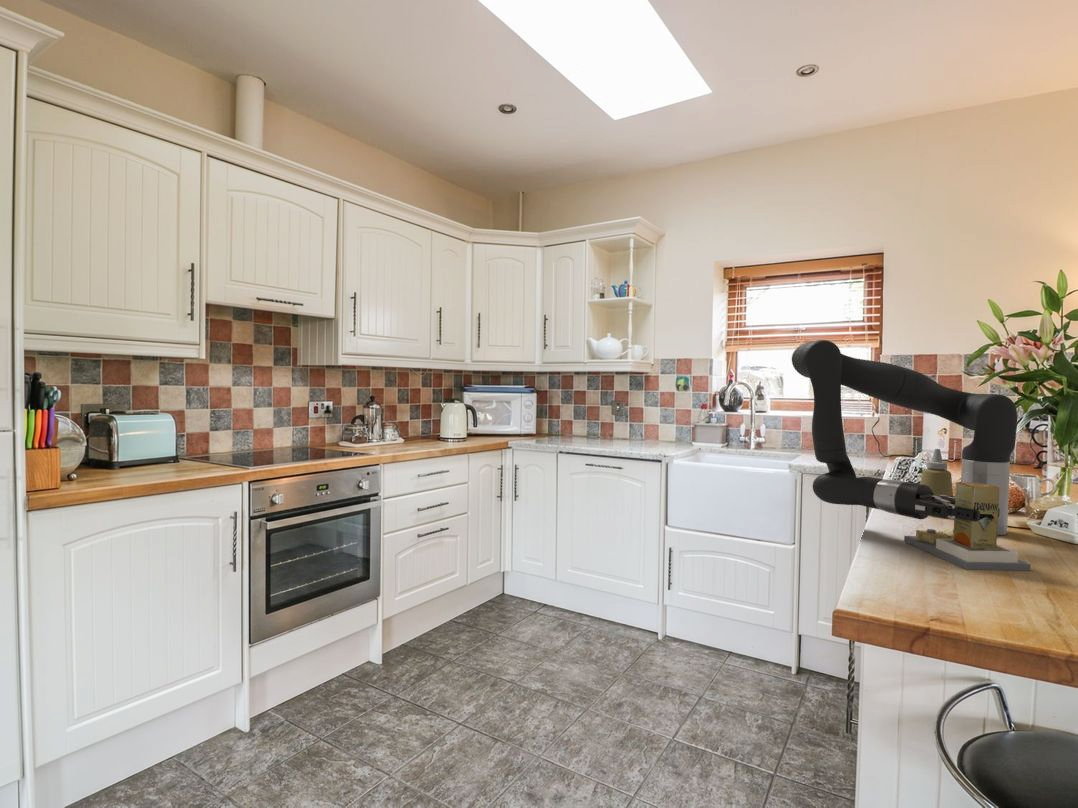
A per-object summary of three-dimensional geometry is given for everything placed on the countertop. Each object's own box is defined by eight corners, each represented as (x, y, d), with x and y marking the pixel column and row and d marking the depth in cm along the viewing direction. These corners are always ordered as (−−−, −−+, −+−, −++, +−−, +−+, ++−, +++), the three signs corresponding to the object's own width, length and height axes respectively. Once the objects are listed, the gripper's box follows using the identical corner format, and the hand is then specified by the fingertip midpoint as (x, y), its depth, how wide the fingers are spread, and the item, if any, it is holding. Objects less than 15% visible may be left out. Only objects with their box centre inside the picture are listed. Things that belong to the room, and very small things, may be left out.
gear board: (904, 541, 131) (904, 525, 131) (959, 542, 131) (960, 526, 130) (965, 569, 111) (966, 550, 111) (1031, 570, 111) (1032, 551, 110)
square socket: (935, 547, 121) (936, 538, 121) (982, 548, 121) (982, 539, 121) (967, 561, 112) (967, 551, 112) (1017, 562, 111) (1018, 552, 111)
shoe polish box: (953, 540, 119) (956, 482, 118) (977, 541, 119) (980, 483, 118) (970, 547, 114) (973, 486, 113) (996, 548, 114) (999, 487, 113)
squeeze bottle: (926, 517, 156) (928, 450, 155) (912, 510, 164) (914, 447, 163) (959, 518, 154) (962, 451, 154) (943, 512, 162) (945, 447, 162)
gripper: (883, 483, 125) (970, 498, 110) (922, 479, 132) (1008, 492, 117) (882, 518, 125) (968, 537, 111) (920, 512, 132) (1006, 529, 117)
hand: (988, 514), depth 114 cm, fingers closed on shoe polish box, 6 cm apart
